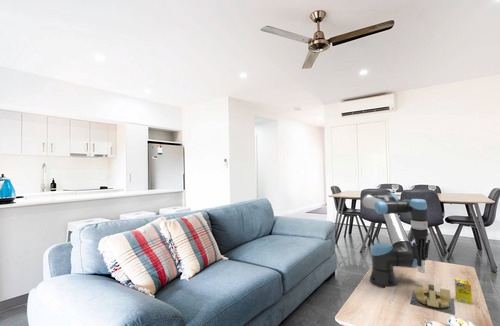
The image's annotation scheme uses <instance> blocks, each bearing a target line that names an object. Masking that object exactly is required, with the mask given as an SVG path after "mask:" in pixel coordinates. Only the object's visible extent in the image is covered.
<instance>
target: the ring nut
mask: <svg viewBox="0 0 500 326" xmlns="http://www.w3.org/2000/svg"><path fill="white" fill-rule="evenodd" d="M427 286H428V287H427V288H426V289H424V285H423V284H417V283H413V290H414V293H416V299H417V300H418V301H420V302H421V303H423V304H427V305H428V306H432V307H437V308H439V307H440V308H444V307H449V306H450V301H449V300H451V298H452V297H451V290H450V289H446V288H441V287H440V288H439V291H437V290H435V284H434V281H429V280H428V281H427ZM428 294H429V298H428V297H427V295H428ZM436 297H437V299H436Z"/></svg>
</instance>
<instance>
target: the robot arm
mask: <svg viewBox="0 0 500 326" xmlns="http://www.w3.org/2000/svg"><path fill="white" fill-rule="evenodd" d="M360 202H361V205H362V207H364V208H366V209H369V210H374V211H375V212H376V214H377V215H383V217H384V220H385V223H386V225H387V229H388V232H389V234H390V237H391V240H392V244H391V243H389V242H388V243H387V242H380V243H375V244H373V245H372V247H371V252H370V253H371V268H372V269H371V272H370V276H369V281H370V284H371V285H374V286H376V287H378V288H383V289H385V288H386V287H387V288H388V287H389V288H390V287H396V286H397V285H398V279H397V277H396V274H395V272H394V267H401V268H402V267H405V268H407V267H408V268H416V267H417V272H419V273H421V274H424V273H426V272H425V271H426V269H425V267H426V266H425V263H426V262H425V261H427V260H428V258H429V249H430V243H431V240H430V239H428V236H429V230H428V227H429V226H428V225H429V223H428V205H427V201H426V199H421V198H412V199H403V200H399V197H398V196H397V195H396V194H395V193H393V192H388V191H387V192H368V193H366V194H364V195H363V196H362V198H361V201H360ZM403 214H405V215H407V214H408V215H410V227H411V228H410V229H411V235H412V236H413V238H412V241H410V240H409V239H408V237H407V234H406V232H405V230H404V226H403V224H402V221H401V219H400V217H399V215H403Z"/></svg>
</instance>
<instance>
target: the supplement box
mask: <svg viewBox="0 0 500 326" xmlns="http://www.w3.org/2000/svg"><path fill="white" fill-rule="evenodd" d="M454 287H455V288H454V289H455V299H456V301H457V302H458V303H464V304H468V305H473V297H472V284H471V281H470V280H467V279H461V278H454Z"/></svg>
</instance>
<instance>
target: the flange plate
mask: <svg viewBox="0 0 500 326" xmlns="http://www.w3.org/2000/svg"><path fill="white" fill-rule="evenodd" d="M427 297H428V298H429V294H428V295H427ZM436 299H437V297H436ZM449 301H450V306H449V307H444V308H440V307H439V308H437V307H432V306H428V305H427V304H423V303H421V302H420V301H418V300H417V299H416V293H414V289H413V291H412V293H411V299H410V303H409V304H410V305H412V306H416V307H420V308H424V309H428V310H432V311H436V312H440V313H444V314H448V315H453V316H456V309H455V308H456V307H455V299H454V298H452V297H451V300H449Z"/></svg>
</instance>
